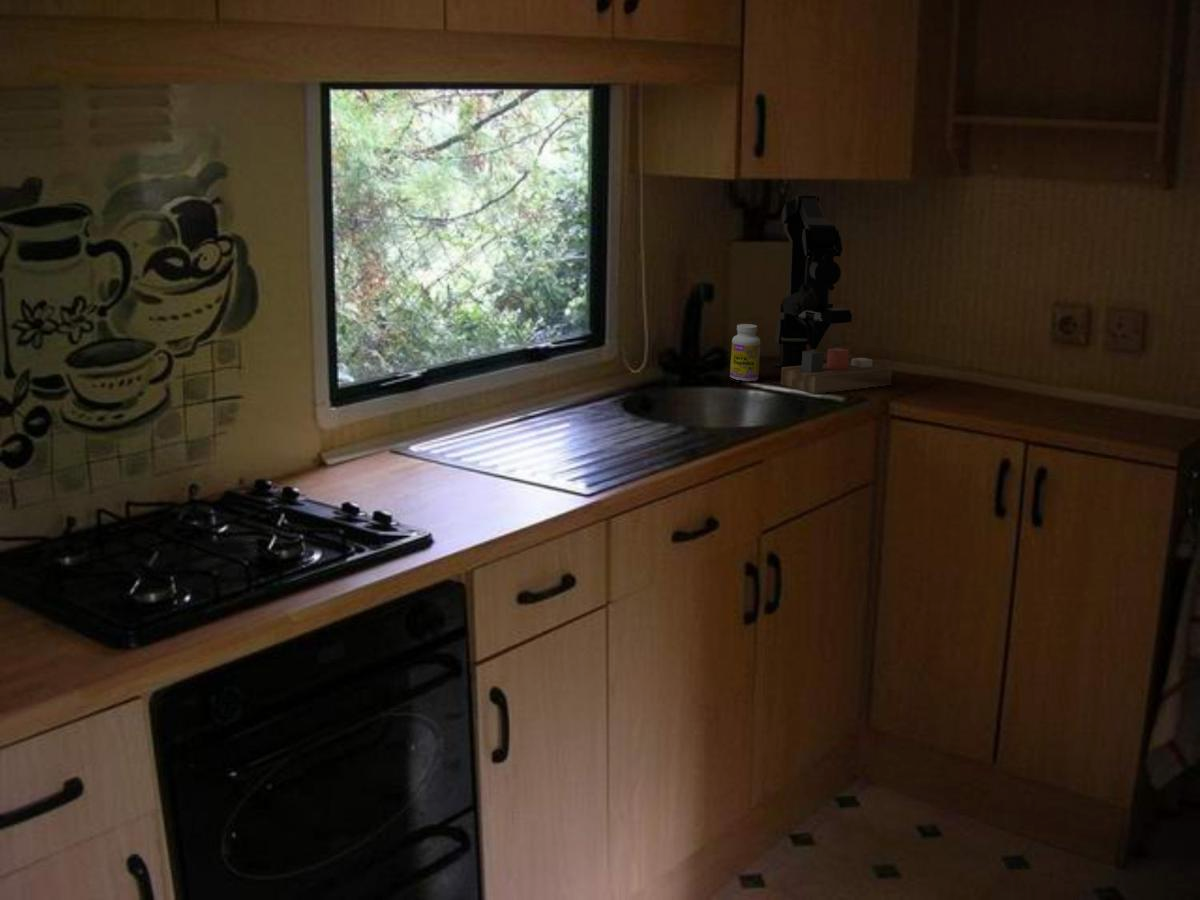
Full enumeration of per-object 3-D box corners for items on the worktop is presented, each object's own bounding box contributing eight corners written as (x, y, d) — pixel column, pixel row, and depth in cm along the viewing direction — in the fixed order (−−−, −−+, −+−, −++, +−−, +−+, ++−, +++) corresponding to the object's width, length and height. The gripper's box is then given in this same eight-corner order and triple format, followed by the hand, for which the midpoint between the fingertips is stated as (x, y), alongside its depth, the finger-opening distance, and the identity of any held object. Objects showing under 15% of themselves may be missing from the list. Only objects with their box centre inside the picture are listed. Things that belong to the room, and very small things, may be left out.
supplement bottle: (727, 381, 318) (729, 326, 314) (732, 376, 324) (735, 322, 321) (755, 383, 316) (758, 328, 313) (760, 378, 322) (763, 324, 319)
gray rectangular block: (801, 372, 312) (802, 351, 311) (812, 371, 314) (814, 350, 313) (810, 375, 309) (812, 353, 308) (822, 374, 311) (823, 352, 310)
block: (780, 384, 315) (781, 367, 314) (856, 376, 327) (857, 359, 326) (814, 394, 306) (815, 376, 305) (891, 385, 317) (892, 368, 316)
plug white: (850, 379, 321) (851, 358, 319) (861, 378, 322) (862, 357, 321) (860, 382, 318) (861, 361, 316) (871, 381, 319) (872, 360, 318)
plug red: (826, 370, 316) (827, 348, 315) (837, 369, 318) (839, 347, 316) (836, 372, 313) (837, 351, 312) (847, 371, 315) (848, 350, 314)
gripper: (763, 276, 310) (759, 344, 314) (816, 287, 295) (812, 358, 299) (801, 274, 316) (797, 341, 320) (856, 284, 300) (851, 354, 304)
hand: (813, 348), depth 310 cm, fingers closed
